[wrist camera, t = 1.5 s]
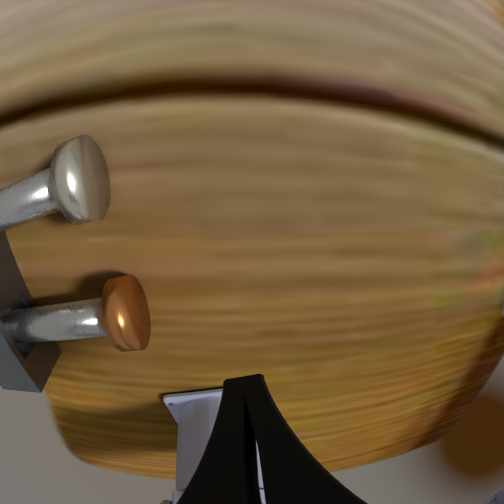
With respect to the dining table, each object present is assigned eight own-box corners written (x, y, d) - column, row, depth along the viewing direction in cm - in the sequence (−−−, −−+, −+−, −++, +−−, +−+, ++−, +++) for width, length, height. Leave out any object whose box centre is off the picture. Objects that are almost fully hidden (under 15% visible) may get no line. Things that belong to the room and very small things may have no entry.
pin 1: (99, 132, 14) (63, 137, 10) (116, 206, 16) (87, 232, 12) (-37, 195, 13) (-74, 214, 9) (-20, 248, 15) (-53, 275, 11)
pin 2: (133, 262, 17) (112, 301, 13) (154, 320, 19) (143, 365, 15) (-3, 289, 17) (-32, 320, 13) (20, 334, 18) (-2, 368, 14)
